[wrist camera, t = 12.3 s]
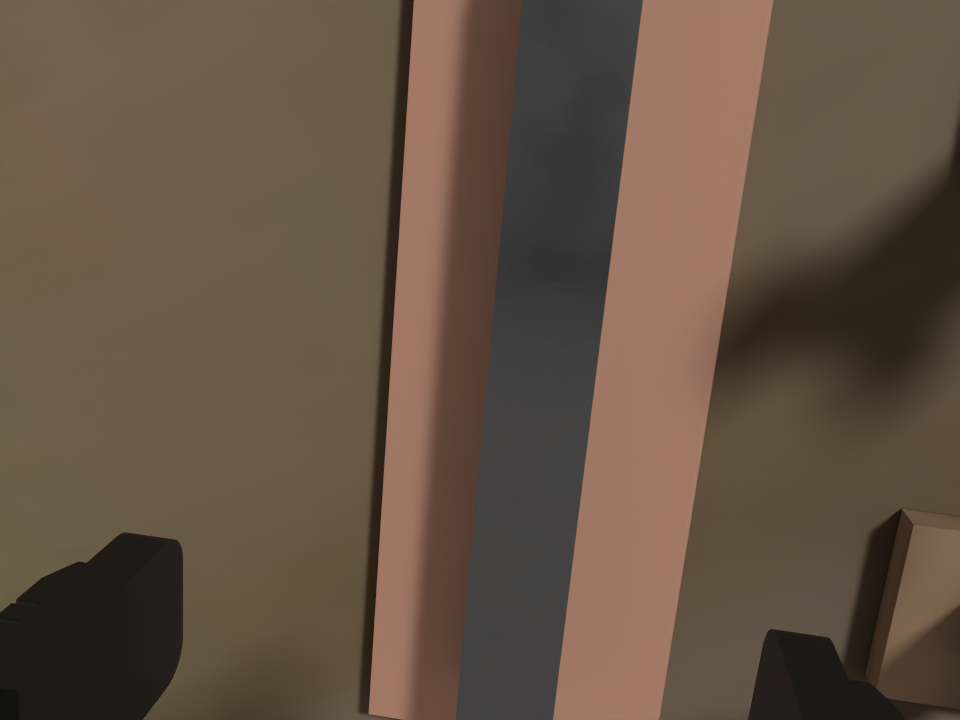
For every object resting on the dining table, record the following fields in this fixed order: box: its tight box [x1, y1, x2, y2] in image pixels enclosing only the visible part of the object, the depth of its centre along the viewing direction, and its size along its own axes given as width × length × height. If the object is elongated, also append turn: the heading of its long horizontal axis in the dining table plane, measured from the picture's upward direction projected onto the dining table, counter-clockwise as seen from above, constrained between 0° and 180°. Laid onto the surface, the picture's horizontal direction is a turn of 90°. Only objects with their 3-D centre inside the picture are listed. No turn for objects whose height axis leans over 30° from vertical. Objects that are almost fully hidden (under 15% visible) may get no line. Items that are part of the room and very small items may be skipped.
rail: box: [456, 0, 643, 720], centre depth 27 cm, size 3×24×3 cm, turn 175°
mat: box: [369, 0, 773, 720], centre depth 29 cm, size 10×28×1 cm, turn 175°
